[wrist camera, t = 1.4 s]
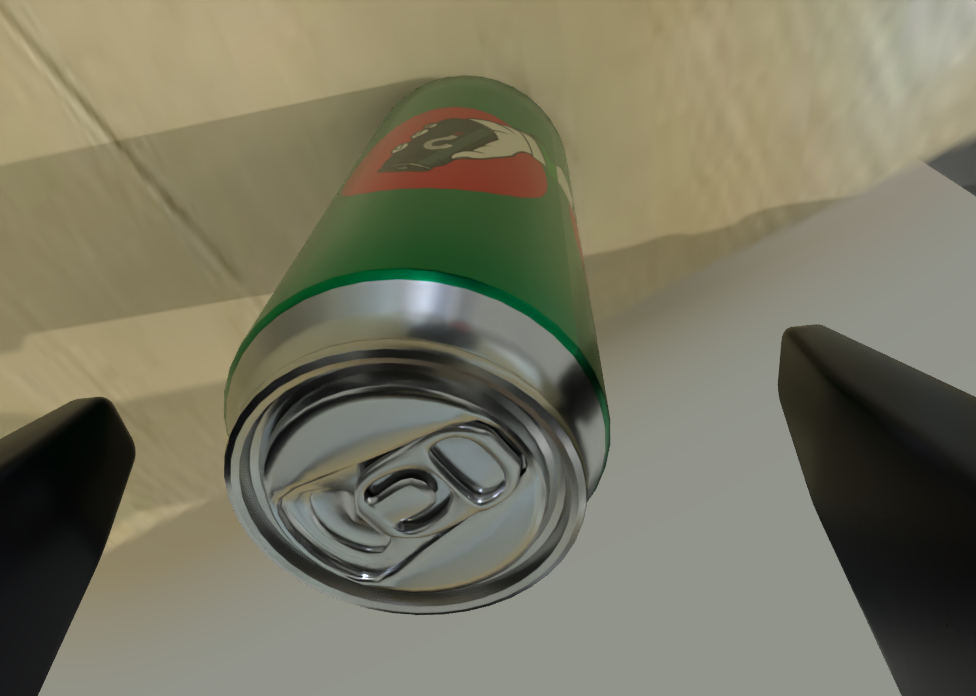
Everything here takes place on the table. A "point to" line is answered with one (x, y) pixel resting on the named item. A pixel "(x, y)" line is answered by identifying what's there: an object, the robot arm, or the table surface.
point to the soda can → (427, 368)
